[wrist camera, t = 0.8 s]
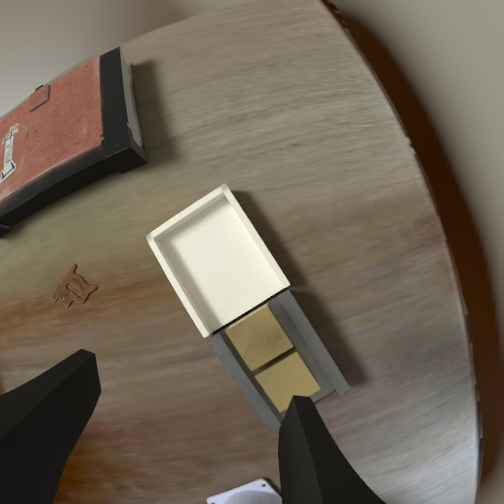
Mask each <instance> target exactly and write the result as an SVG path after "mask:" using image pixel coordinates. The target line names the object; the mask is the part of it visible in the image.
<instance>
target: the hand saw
mask: <svg viewBox="0 0 504 504" xmlns="http://www.w3.org/2000/svg"><path fill="white" fill-rule="evenodd" d="M76 267H77V265H76V264H74V265H73V266H72V267H71V268H70V270H69V272H68V274H67V276H66V278H65V279H64V280H63V282H62V283H61V284H59V285H58V286H57V287H56V289H55V290H54V292H53V293H52V295H51V298H52V300H53V302H54V303H55V302H56V300H57V299H58V298H60V299H61V300H62V302H63V304H64V306H65V307H69V305H70V304H71V302H72V301H73V300H74V301H76V302H78V303H83V302H84V301H85V300H86V298H87V297H88V295H89V293H90V292H92V291H94V290H96V289H97V288H98V287H97V286H96V285H94V286H91V285H89V284H88V283H87V282H86V281H85V280H84V278H83V277H82V276H80V275H78V274H76V273H75V269H76ZM68 284H72V285H73V286H75V287H76V288H77V289H78V290H79V291H80V292H81V294H82V298H79V297H78V296H77V295H76V294H74V293H73V292H71V291H69V290H68V289H67V285H68Z"/></svg>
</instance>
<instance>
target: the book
mask: <svg viewBox="0 0 504 504" xmlns="http://www.w3.org/2000/svg"><path fill="white" fill-rule="evenodd" d="M146 163H147V159H146V154H145V149H144V143H143V138H142V133H141V127H140V121H139V116H138V110H137V103H136V97H135V90H134V84H133V76H132V69H131V63H128V64H126V62H125V61H124V59H123V58H122V49H121V47H120V46H119V47H117V48H115V49H113V50H111V51H109V52H107V53H105V54H103V55H101V56H99V57H97V58H95V59H93V60H91V61H89V62H88V63H86V64H84V65H82V66H80V67H78V68H77V69H75V70H73V71H71V72H70V73H68V74H66V75H65V76H63V77H61V78H60V79H58V80H57V81H55V82H53V83H52V84H50V85H48V84H46V85H44V86H43V85H41V86H40V87H38V88H37V89H36V90H35V92H34V93H33V94H31V97H30V98H29V99H28V100H27V101H25V102H24V103H23V104H21V105H20V106H18V107H17V108H16V109H14V110H13V111H12V112H11V113H9V114H8V115H7V116H5V117H4V118H3V119H2V120H0V237H2V236H3V235H5V234H6V233H8V232H10V227H12V226H13V225H15V224H17V223H18V222H20V221H22V220H23V219H25V218H27V217H28V216H30V215H32V214H34V213H35V212H37V211H39V210H41V209H42V208H44V207H46V206H48V205H50V204H52V203H53V202H55V201H57V200H59V199H61V198H63V197H65V196H67V195H69V194H71V193H73V192H75V191H77V190H79V189H81V188H83V187H85V186H87V185H89V184H91V183H93V182H95V181H97V180H99V179H101V178H104V177H106V176H108V175H110V174H112V173H115V172H117V171H119V172H121V173H125V172H127V171H129V170H132V169H134V168H136V167H139V166H141V165H144V164H146Z"/></svg>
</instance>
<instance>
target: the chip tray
mask: <svg viewBox="0 0 504 504" xmlns="http://www.w3.org/2000/svg"><path fill="white" fill-rule="evenodd" d="M145 237H146V239H147V241H148V243H149V245H150V246H151V248H152V250H153V252H154V254H155V256H156V257H157V259H158V261H159V263H160V265H161V266H162V268H163V270H164V272H165V274H166V275H167V277H168V279H169V281H170V282H171V284H172V286H173V287H174V289H175V291H176V293H177V294H178V296H179V298H180V299H181V301H182V303H183V304H184V306H185V308H186V309H187V311H188V313H189V314H190V316H191V318H192V319H193V321H194V323H195V324H196V326H197V327H198V329H199V331H200V332H201V334H202V335H203V337H204V338H205V337H206V336H208V335H210V334H211V333H212V332H214V331H215V330H217V329H219V328H220V327H222V326H224V325H225V324H227V323H229V322H230V321H232V320H234V319H235V318H237V317H238V316H240V315H242V314H243V313H245V312H247V311H248V310H250V309H251V308H253V307H255V306H256V305H258V304H259V303H261V302H263V301H264V300H266V299H267V298H269V297H271V296H272V295H274V294H275V293H277V292H279V291H280V290H282V289H283V288H286V287H288V286H289V285H290V283H289V281H288V280H287V278H286V277H285V275H284V274H283V272H282V270H281V269H280V267H279V266H278V264H277V263H276V261H275V259H274V258H273V256H272V255H271V253H270V252H269V250H268V249H267V247H266V245H265V244H264V242H263V241H262V239H261V238H260V236H259V235H258V233H257V231H256V230H255V228H254V227H253V225H252V224H251V222H250V221H249V219H248V218H247V216H246V214H245V213H244V211H243V210H242V208H241V207H240V205H239V204H238V202H237V201H236V199H235V198H234V196H233V194H232V193H231V191H230V190H229V188H228V187H227V185H226V184H224V185H222V186H221V187H219V188H217V189H216V190H214V191H213V192H211V193H209V194H208V195H206V196H205V197H203V198H202V199H200V200H199V201H197V202H195V203H194V204H192V205H191V206H189V207H188V208H186V209H185V210H183V211H182V212H180V213H179V214H177V215H176V216H174V217H173V218H171V219H170V220H168V221H167V222H165V223H164V224H162V225H161V226H160V227H158V228H157V229H155V230H154V231H152V232H151V233H149V234H148V235H147V236H145Z"/></svg>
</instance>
